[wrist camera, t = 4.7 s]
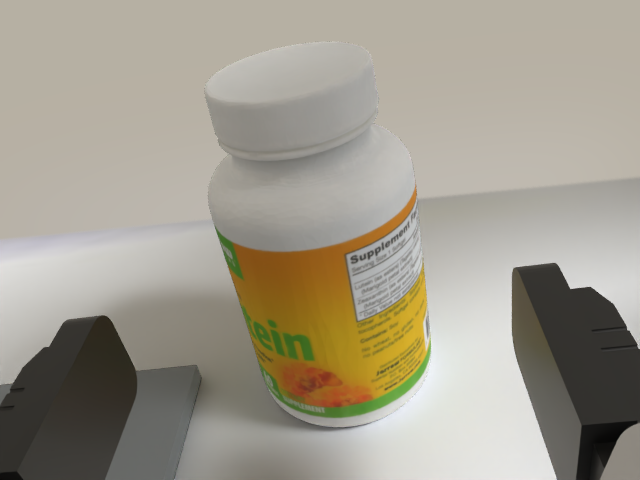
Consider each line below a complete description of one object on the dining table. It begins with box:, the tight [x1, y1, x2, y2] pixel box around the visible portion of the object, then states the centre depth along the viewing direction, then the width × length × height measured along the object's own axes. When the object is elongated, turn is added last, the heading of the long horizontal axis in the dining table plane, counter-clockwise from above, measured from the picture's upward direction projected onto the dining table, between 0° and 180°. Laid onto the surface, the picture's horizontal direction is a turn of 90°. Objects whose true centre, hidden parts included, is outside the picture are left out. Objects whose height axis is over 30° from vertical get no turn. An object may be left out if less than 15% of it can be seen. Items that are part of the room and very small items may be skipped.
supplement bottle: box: [205, 41, 431, 427], centre depth 16 cm, size 5×5×10 cm
